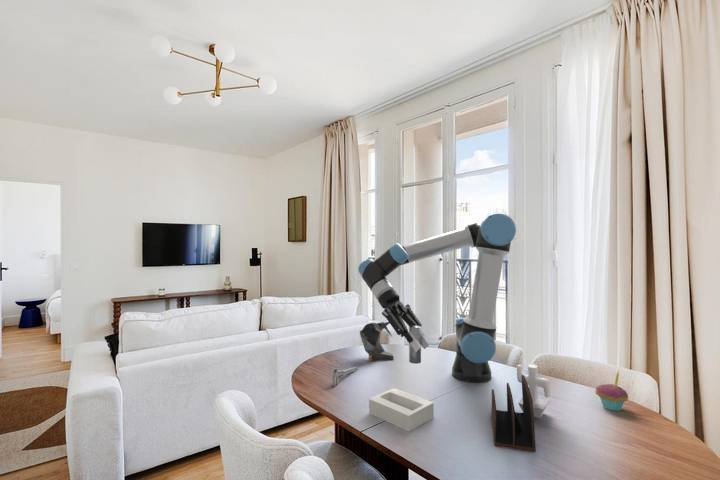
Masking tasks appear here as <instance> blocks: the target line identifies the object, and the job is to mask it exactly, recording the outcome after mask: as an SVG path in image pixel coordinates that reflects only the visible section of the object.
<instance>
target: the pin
mask: <svg viewBox="0 0 720 480" xmlns="http://www.w3.org/2000/svg"><path fill="white" fill-rule="evenodd" d="M409 331H411V332H412V334H413V335H414V337H415V338H416V340H417V341H418V342H419V344H420V345H421V332H422V326H417V325H412V326H408V332H409ZM421 346H422V345H421ZM408 353H409V354H408V357H409V358H408V359H409V360H408V361H409V363H410V364H413V365H414V364H415V365H417V364H418V365H419V364H421V362H422V347H421V348H420V349H419V350H418V351H417V352H415V350H414V349H413V347H412V346H411V344H410V343H409V342H408Z"/></svg>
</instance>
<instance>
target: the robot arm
mask: <svg viewBox="0 0 720 480" xmlns="http://www.w3.org/2000/svg"><path fill="white" fill-rule="evenodd" d="M516 233H517V226H516V223H515V221H514V220H513V218H511V217H510V216H509V215H507V214H505V213H502V212H492V213H488V214H487V215H486V216H482V217H481V218H479V219H478V220H475V221H473V222H471V223H467V224H465V225H464V227H463V228H459V229H456V230H453V231H449V232H446V233H442V234H439V235H435V236H432V237H430V238H426V239H422V240H418V241H415V242H412V243H408V244H404V245H401V244H400V243H395V244H394V245H392V246H390V247H389V249H387V250H386V251H385V252H383V253H382V254H381V255H380V256H379V257H378V258H376V259H375V260H374V259H373V258H368V259H366V260H363V261H362V262H361V263H360V264H359V265H358V269H357V270H358V273H359V275H360V276H361V278H362V280H363V281H364V282H365V284H366V286H368V288H369V290H370V291H371V292H372V295H374V297H375V298H376V300H377V301H378V303H379V305H380V306H381V308H382V309H383V311H382V312H381V315H382V316H383V317H385V319H386V320H387V322H389V324H390V325H391V327H392V329H393V331H395V333H396V334H397V335H398V336H400V337H401V338H404V339H405V340H406V341H407V343H408V344H409V343H410V344H411V346H412V347H413V349H414V350H415V352H417V351H418V350H419V349H420V348H421V349H424V350H425V349H427V348H428V347H429V346H430V345H431V344H430V342H429V341H428V340H427V338H426V336H425V334H424V333H423V332H422V331H421V345H420V344H419V342H418V341H417V340H416V338H415V337H414V335H413V334H412V332H411V331H409V328H407V326H408V327H409V326H412V325H417V326H421V327H422V323H421V321H420V320H419V319H418V317H417V316H416V314H415V313H414V311H413V310H412V308H411V305H410V304H409V303H407V304H406V305H405V304H403V302H401V301H400V295H399V293H398V292H397V291H396V289H394V287H393V285H392V284H391V282H390V281H389V280H388V279H387V276H389V275H390V274H391V273H392V272H394V271H395V270H396V269H397V268H399V267H400V266H403V265H407V264H411V263H413V262H417V261H420V260H425V259H428V258H432V257H434V256H435V257H436V256H438V255H442V254H443V255H444V254H445V253H448V252H453V251H456V250H460V249H463V248H467V247H470V248H475V249H476V250H477V251H478V257H477V263H476V269H475V275H474V282H473V287H472V293H471V299H470V305H469V310H468V316H467V317H457V318H456V319H455V326H454V327H455V351H456V352H455V357H454V362H453V364H452V367H451V374H452V376H453V377H454V378H455V379H458V380H460V381H463V382H471V383H482V382H487V381H489V380H491V379H492V370H491V367H490V364H489V361H491V359H492V358H494V357H495V354H496V350H497V345H496V341H495V338H496V332H497V326H496V324H495V323H494V316H495V309H496V306H497V305H496V304H497V299H498V298H497V297H498V294H499V293H498V292H499V288H500V287H499V286H500V280H501V275H502V269H503V262H504V258H505V256H506V255H508V254H509V253H510V249H511V242H512V241H513V240H514V238H515V236H516ZM405 323H406V324H405Z"/></svg>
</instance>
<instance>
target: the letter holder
mask: <svg viewBox="0 0 720 480" xmlns="http://www.w3.org/2000/svg"><path fill="white" fill-rule="evenodd" d="M521 377H522V383H521V390H522V391H521V393H522V398H523V411H522V412H516V410H515V405H514V399H513V394H512V390H511V386H510V384H509V382H506V410H499V409H497V405H496V404H497V403H496V395H495V389H493V388H492V389H491V407H490V408H491V424H492V436H493V445H494V447H499V448H504V449H512V450H518V451H524V452H525V451H526V452H531V453H536V451H537V450H536V447H537V445H536V434H535V433H536V431H535V430H536V429H535V417H534V415H533V400H532V397H531V393H530V390H529V385H528V384H527V381H526V379H525V377H524V375H522V376H521Z"/></svg>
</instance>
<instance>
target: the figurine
mask: <svg viewBox="0 0 720 480" xmlns="http://www.w3.org/2000/svg"><path fill="white" fill-rule="evenodd" d="M527 372H528V374H525V373H524V369H523V365H522V364H517V365H516V378H517V382H519V383H521V384H522V377H521V376H522V375H524V377H525V379H526V381H527V384H528V387H529V390H530V393H531V397H532V400H533V415H534V418H537V419H539V420H540V419H541V417H542V416H543V415H544V413H545V410H546V409H547V406H548V405H549V403H550V400H546V399H543V398H539V388H542V389H543V393H544V394H543V395H544V398H547V399H548V398H549V399H550V398H551V382H550V380H549V379H548V378H543V377H539V376H538V374H539V367H538V365H537V364H533V363H530V364H527ZM517 404H518V405H519V407H520V409H521V411H522V412H523V397H522V398H520V400H519V401H518V403H517Z"/></svg>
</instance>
